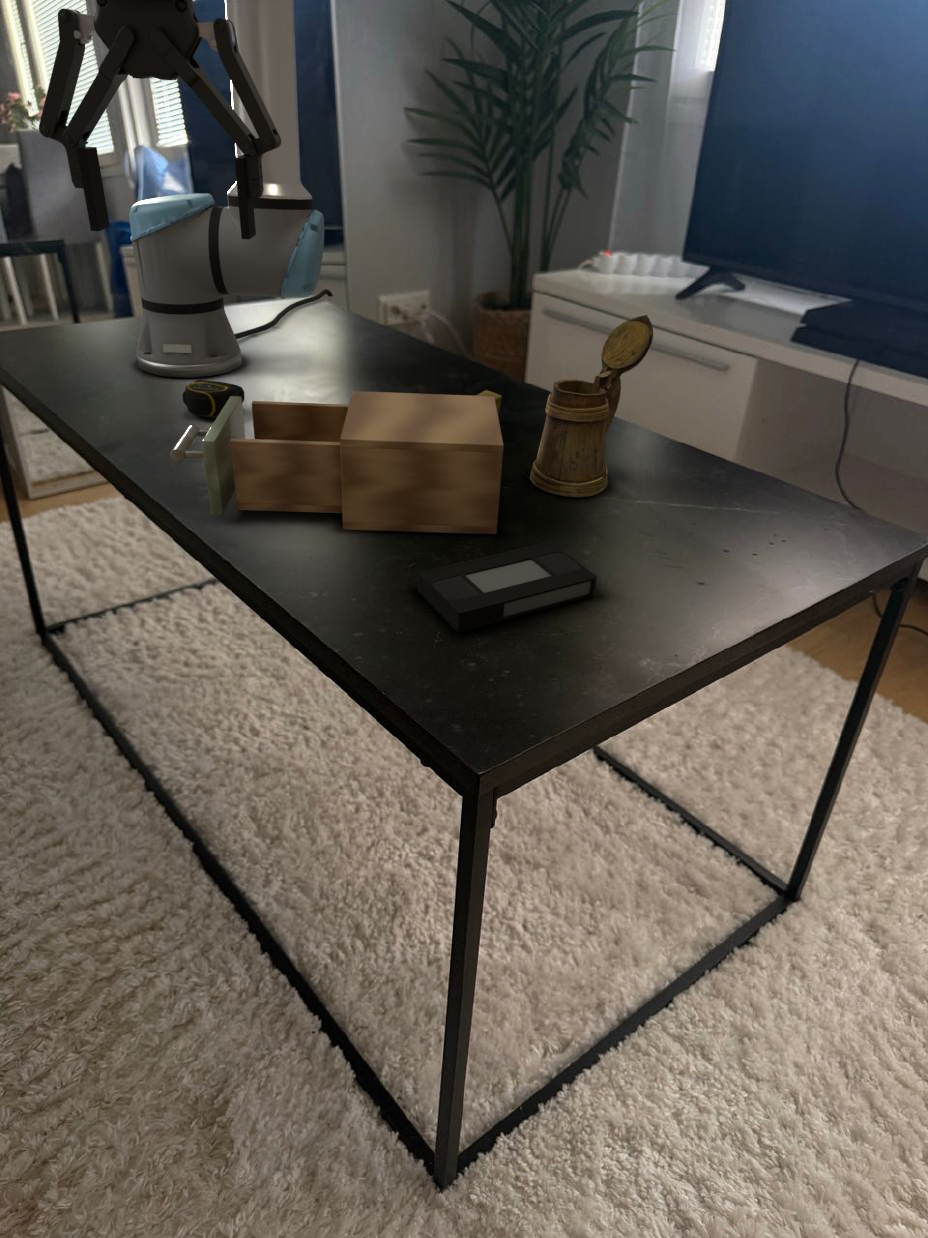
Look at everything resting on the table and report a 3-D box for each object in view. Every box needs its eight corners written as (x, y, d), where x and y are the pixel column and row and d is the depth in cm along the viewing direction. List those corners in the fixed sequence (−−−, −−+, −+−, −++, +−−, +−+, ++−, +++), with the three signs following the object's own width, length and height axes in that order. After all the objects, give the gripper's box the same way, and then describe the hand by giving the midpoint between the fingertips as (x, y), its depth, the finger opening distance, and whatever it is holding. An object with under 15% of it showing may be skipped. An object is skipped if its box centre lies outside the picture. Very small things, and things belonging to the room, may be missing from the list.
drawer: (168, 513, 84) (156, 439, 79) (199, 461, 95) (191, 394, 91) (356, 519, 85) (354, 446, 80) (365, 467, 96) (364, 400, 92)
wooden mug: (650, 479, 99) (678, 323, 89) (565, 504, 92) (586, 337, 83) (598, 455, 105) (619, 306, 95) (514, 475, 98) (528, 317, 88)
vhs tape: (595, 596, 76) (598, 577, 75) (458, 633, 70) (459, 613, 69) (548, 559, 81) (550, 541, 80) (417, 591, 75) (417, 572, 74)
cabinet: (342, 529, 84) (340, 439, 79) (354, 472, 97) (352, 390, 92) (496, 534, 85) (503, 445, 80) (488, 477, 98) (494, 396, 92)
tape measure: (248, 408, 113) (245, 381, 111) (224, 425, 107) (221, 396, 105) (202, 402, 114) (198, 375, 112) (176, 418, 108) (172, 389, 106)
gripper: (-49, -80, 62) (20, 231, 74) (288, -58, 63) (303, 247, 74) (-2, -66, 68) (54, 219, 80) (304, -47, 69) (316, 233, 81)
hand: (175, 233), depth 77 cm, fingers open, 13 cm apart
